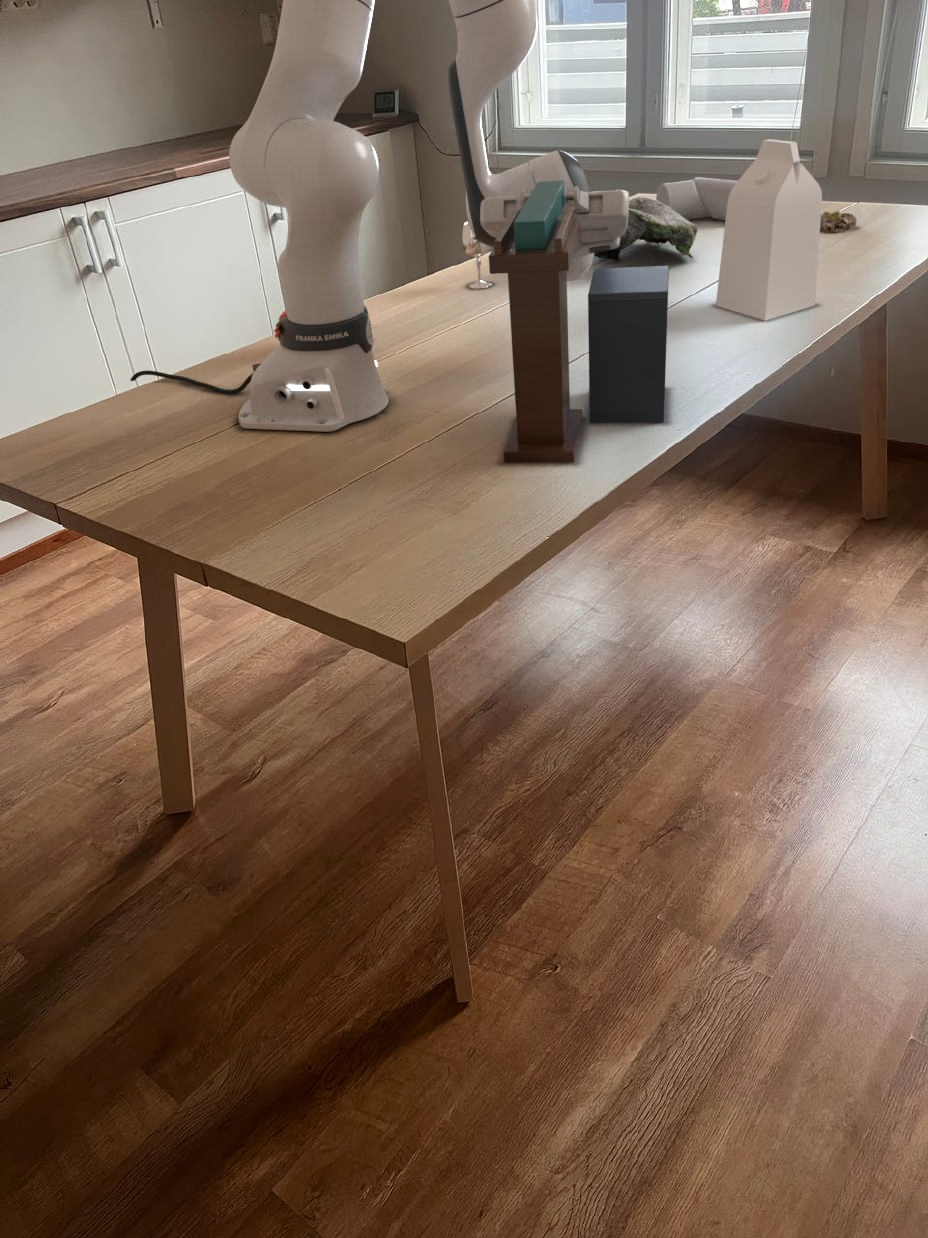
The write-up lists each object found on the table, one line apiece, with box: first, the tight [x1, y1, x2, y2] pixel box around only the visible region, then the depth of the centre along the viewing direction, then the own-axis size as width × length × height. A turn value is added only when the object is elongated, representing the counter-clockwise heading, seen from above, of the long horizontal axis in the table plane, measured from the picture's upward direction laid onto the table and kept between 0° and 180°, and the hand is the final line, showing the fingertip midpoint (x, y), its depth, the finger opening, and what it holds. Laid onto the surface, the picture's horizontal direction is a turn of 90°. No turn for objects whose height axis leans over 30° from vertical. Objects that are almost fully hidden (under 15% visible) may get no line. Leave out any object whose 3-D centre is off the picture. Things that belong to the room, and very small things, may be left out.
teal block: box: [514, 181, 565, 250], centre depth 117 cm, size 23×4×3 cm, turn 169°
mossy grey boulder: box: [594, 196, 698, 261], centre depth 196 cm, size 29×30×15 cm
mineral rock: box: [820, 210, 858, 233], centre depth 205 cm, size 11×4×8 cm
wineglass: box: [461, 221, 492, 290], centre depth 189 cm, size 6×6×12 cm
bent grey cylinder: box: [655, 176, 738, 221], centre depth 219 cm, size 18×11×20 cm
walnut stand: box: [488, 207, 584, 463], centre depth 120 cm, size 16×9×28 cm, turn 169°
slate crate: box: [587, 265, 670, 424], centre depth 130 cm, size 12×10×18 cm
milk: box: [715, 138, 823, 322], centre depth 159 cm, size 12×12×26 cm
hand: (548, 193), depth 123 cm, fingers open, 5 cm apart
